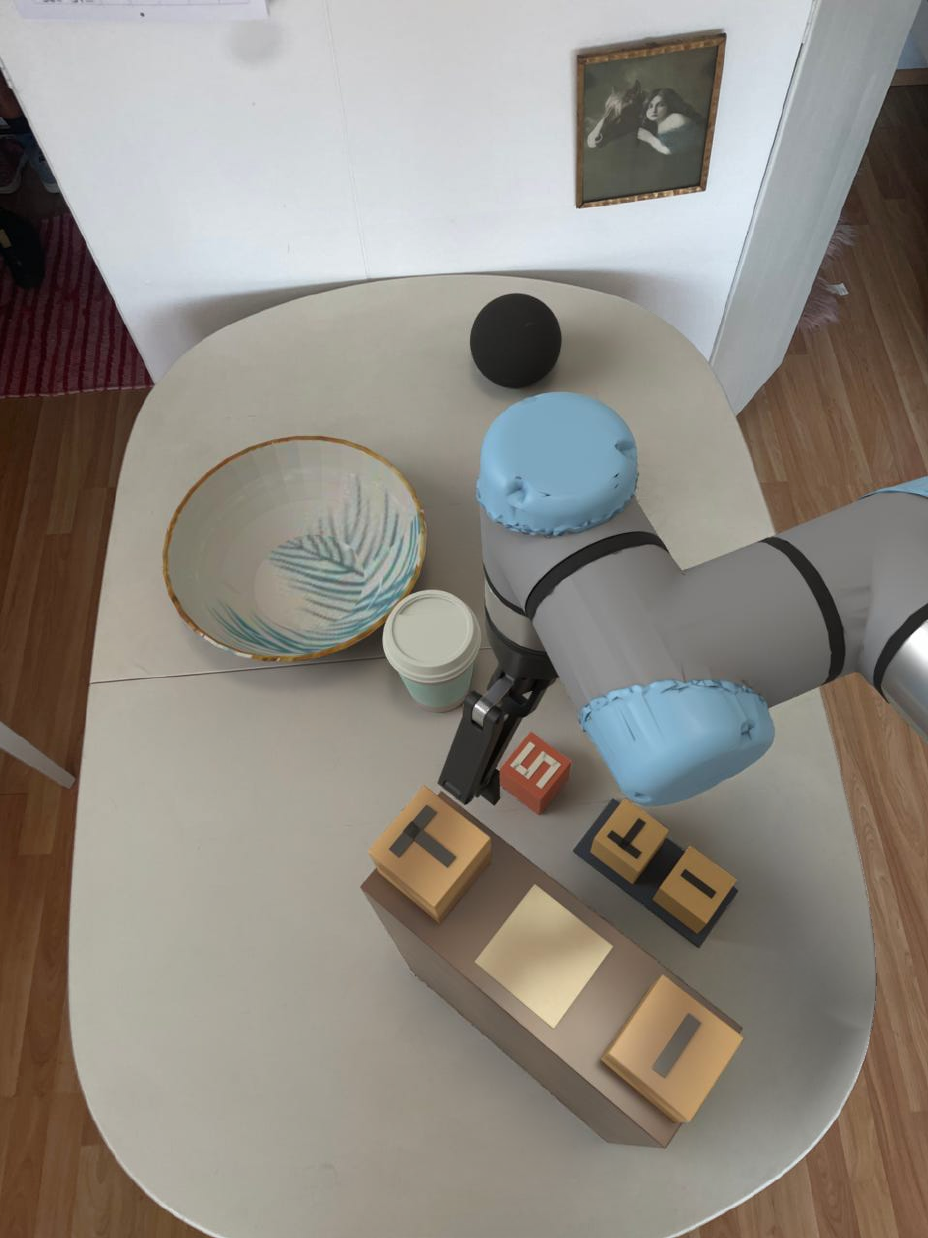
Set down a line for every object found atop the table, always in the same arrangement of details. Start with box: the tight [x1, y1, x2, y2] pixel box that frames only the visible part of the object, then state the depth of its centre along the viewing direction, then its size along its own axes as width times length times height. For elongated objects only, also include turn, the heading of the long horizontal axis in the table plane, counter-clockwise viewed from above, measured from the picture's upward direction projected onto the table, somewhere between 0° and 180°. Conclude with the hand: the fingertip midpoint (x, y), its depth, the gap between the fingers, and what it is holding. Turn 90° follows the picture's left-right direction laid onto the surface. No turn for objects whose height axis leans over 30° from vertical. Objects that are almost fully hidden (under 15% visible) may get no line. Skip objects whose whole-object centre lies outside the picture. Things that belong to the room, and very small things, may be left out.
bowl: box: [162, 435, 428, 663], centre depth 97 cm, size 25×25×8 cm
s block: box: [499, 731, 572, 816], centre depth 87 cm, size 4×4×5 cm
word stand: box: [359, 785, 745, 1150], centre depth 64 cm, size 20×7×37 cm, turn 51°
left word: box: [572, 797, 739, 949], centre depth 83 cm, size 13×6×5 cm, turn 51°
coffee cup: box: [382, 589, 482, 713], centre depth 89 cm, size 8×8×12 cm
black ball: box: [469, 292, 563, 389], centre depth 107 cm, size 10×10×10 cm
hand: (537, 726), depth 78 cm, fingers open, 13 cm apart
